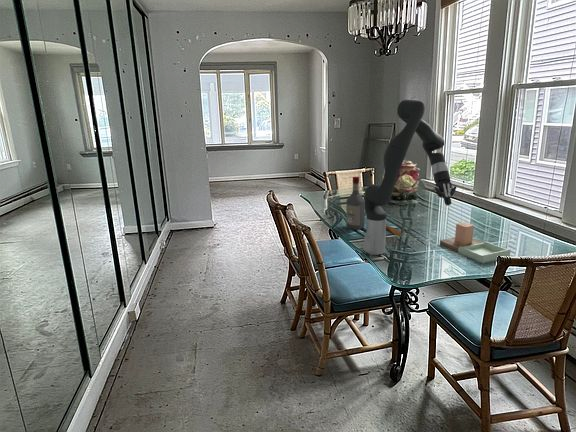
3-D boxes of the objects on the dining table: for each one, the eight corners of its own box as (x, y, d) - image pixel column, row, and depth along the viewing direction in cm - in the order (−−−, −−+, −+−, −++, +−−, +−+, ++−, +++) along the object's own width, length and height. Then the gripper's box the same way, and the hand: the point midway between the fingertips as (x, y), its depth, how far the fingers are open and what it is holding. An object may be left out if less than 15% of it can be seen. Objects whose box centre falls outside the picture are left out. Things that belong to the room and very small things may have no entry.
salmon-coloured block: (464, 244, 184) (465, 227, 182) (454, 240, 190) (456, 223, 187) (472, 243, 186) (473, 225, 183) (462, 239, 191) (464, 222, 189)
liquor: (357, 230, 218) (358, 179, 210) (344, 227, 224) (344, 177, 216) (366, 226, 224) (367, 176, 216) (353, 224, 230) (353, 175, 222)
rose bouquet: (376, 198, 291) (378, 159, 282) (413, 195, 294) (415, 157, 285) (389, 206, 266) (390, 163, 258) (429, 204, 269) (432, 161, 261)
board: (457, 252, 181) (458, 247, 181) (439, 244, 192) (440, 240, 191) (483, 247, 187) (483, 242, 186) (464, 240, 197) (464, 235, 197)
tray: (482, 263, 168) (483, 255, 167) (457, 252, 181) (458, 244, 180) (509, 257, 173) (510, 249, 172) (483, 247, 187) (484, 239, 185)
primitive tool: (404, 234, 210) (404, 228, 209) (395, 236, 208) (396, 230, 207) (382, 225, 227) (383, 220, 226) (375, 227, 225) (375, 221, 224)
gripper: (433, 170, 190) (441, 203, 185) (456, 169, 193) (464, 201, 188) (425, 176, 197) (432, 208, 192) (447, 175, 200) (455, 206, 195)
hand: (448, 204), depth 190 cm, fingers closed
